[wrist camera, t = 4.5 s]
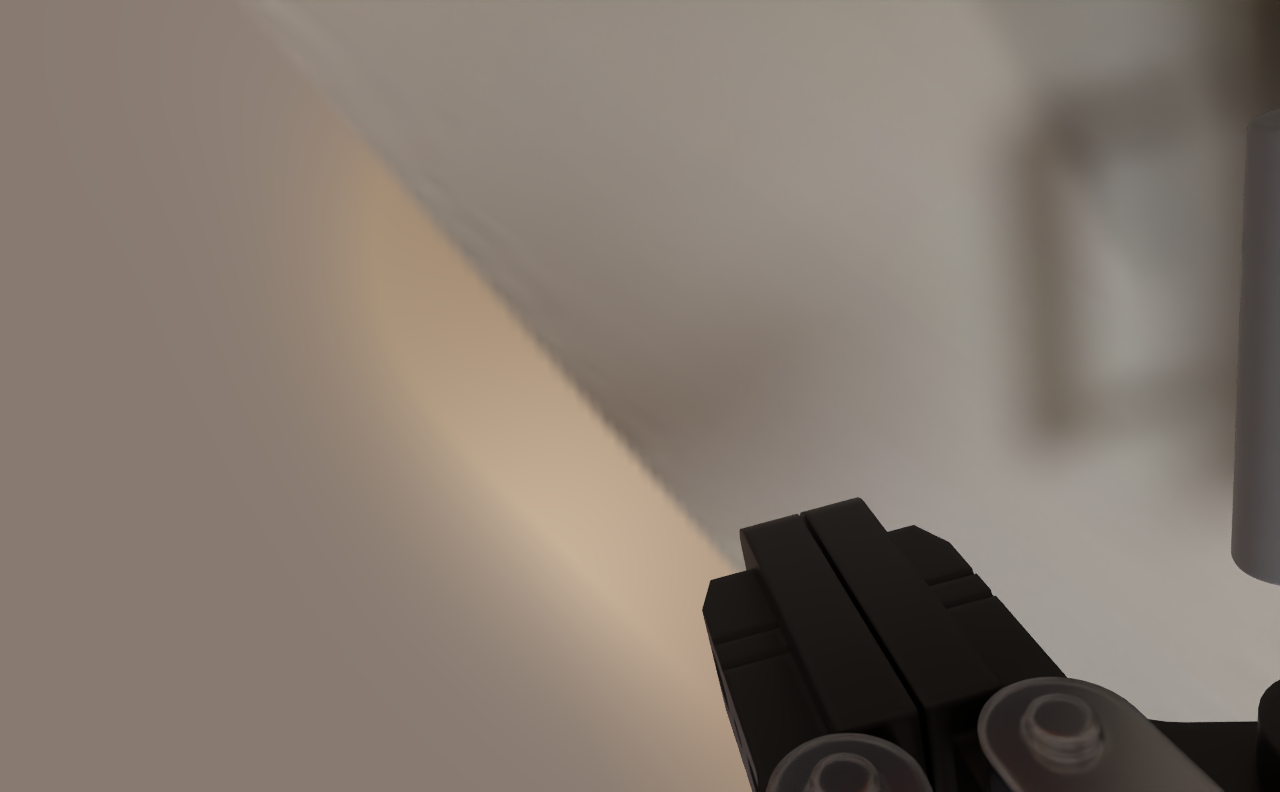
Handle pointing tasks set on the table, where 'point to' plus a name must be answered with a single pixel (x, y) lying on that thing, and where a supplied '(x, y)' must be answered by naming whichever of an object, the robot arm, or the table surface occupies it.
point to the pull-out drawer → (1259, 360)
